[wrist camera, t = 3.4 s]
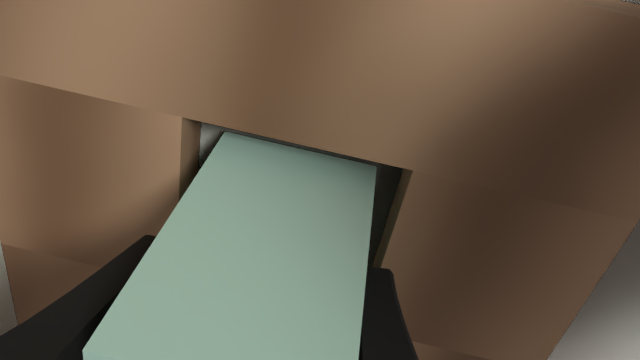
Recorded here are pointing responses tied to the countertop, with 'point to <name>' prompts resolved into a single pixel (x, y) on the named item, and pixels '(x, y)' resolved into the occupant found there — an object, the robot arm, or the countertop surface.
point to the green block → (251, 263)
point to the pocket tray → (338, 140)
